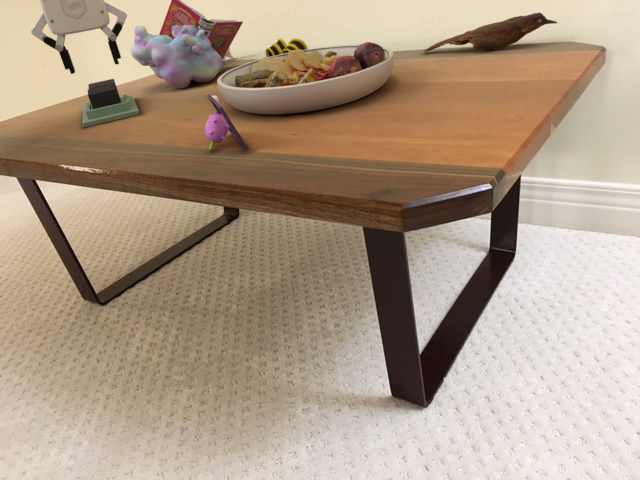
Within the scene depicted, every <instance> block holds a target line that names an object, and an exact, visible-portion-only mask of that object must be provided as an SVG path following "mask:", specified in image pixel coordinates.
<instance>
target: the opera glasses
mask: <svg viewBox="0 0 640 480" xmlns="http://www.w3.org/2000/svg"><path fill="white" fill-rule="evenodd" d="M296 49H301V50H307V49H309V48H308V45H307V44H306V43H305V41H304V40H303V39H301V38H297V37H295V38H292V39H290V40H289V42H288V44H287V42H286V41H285V40H284V39H283V38H282V37H280V38H278V39H277V41H276V42H274V43H273V44H272V45H271V46H270V47H267V48H265V55H266V57H271V56H275V55H280V54H284V53H288V52H289V51H292V50H296Z"/></svg>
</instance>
